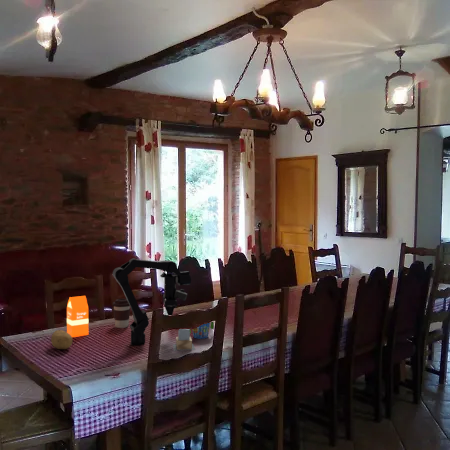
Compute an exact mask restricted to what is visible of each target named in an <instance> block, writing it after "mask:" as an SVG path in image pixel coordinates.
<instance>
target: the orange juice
mask: <svg viewBox="0 0 450 450" xmlns="http://www.w3.org/2000/svg"><path fill="white" fill-rule="evenodd" d="M66 332H67V333H69V334H70V335H71V336H72V338H76V337H83V336H87V335H88V336H89V305H88V300H87V297H86V295H81V296H79V295H78V296H72V297H71V296H69V299H68V300H67V306H66Z"/></svg>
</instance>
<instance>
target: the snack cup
mask: <svg viewBox="0 0 450 450" xmlns="http://www.w3.org/2000/svg"><path fill="white" fill-rule="evenodd" d="M191 329H192V328H191ZM191 329H190V334H191V332H192V336H193V338H194V339H197V340H198V339H199V340H202V339H203V340H204V339H207V338H208V337H209V331H210V329H211V330H213V329H215V324H214V321H213V322H210V323H207V324H203V325H201V326H199V327H197V328H194V329H192V331H191Z"/></svg>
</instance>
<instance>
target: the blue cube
mask: <svg viewBox="0 0 450 450" xmlns="http://www.w3.org/2000/svg"><path fill="white" fill-rule="evenodd" d="M177 331H178V334H177V335H178V336H177V337H178V338H179V340H190V337H191V333H190V329H179V330H177Z"/></svg>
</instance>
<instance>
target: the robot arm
mask: <svg viewBox="0 0 450 450" xmlns="http://www.w3.org/2000/svg"><path fill="white" fill-rule="evenodd" d="M136 268H141V269H142V268H143V269H152V270H160V271H162V273H161V274H160V276H159V277H160V278H163V280H164V281H163V283H164V284H163V291H164V294H163V295H162V296H163V297H162V299H163V300H162V301H163V303H164V304H163V305H164V308H165V311H166V314H167V316H168V315H172V316H173V314H174V310H175V308H177V307H178V300H177V299H180V300H182V301H186V299H187V297H188V293H186V292H185V289H183V288H180V289H179V290H177V289H178V288H177V287H176V286H177V285H178V286H188V285H191V284H192V277H191V274H190V271H189V270H188V271H187V270H186V271H180V270H179V269H178V264H177V263H176V262H175V261H172V260H170V259H169V260H168V259H167V260H159V261H157V260H147V259H138V258H134V257H133V258H131V259H129V261H127V262H125V263H124V264H121V266H119V267H116V268H114V269H113V270H112V277H113V278H114V279H115V281H116V283H118V285H119V286H120V288H121V290H122V291H123V294H124V296H125V299H127V301H128V303H129V305H130V311H131V312H132V319H133V321H132V323H130V325H129V329H130V346H144V345H145V343H146V332H145V331H146V329H147V327H149V325H150V323H149V322H150V321H149V320H150V318H148V314H147V312H146V311H145V310H144V309H142V310H141V307H140V306H139V303H138V301H137V298H136V297H135V295H134V292H133V290H132V288H131V286H130V281H129V276H128V275H130V274H131V273H132V272H133V271H134V270H135V269H136Z"/></svg>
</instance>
